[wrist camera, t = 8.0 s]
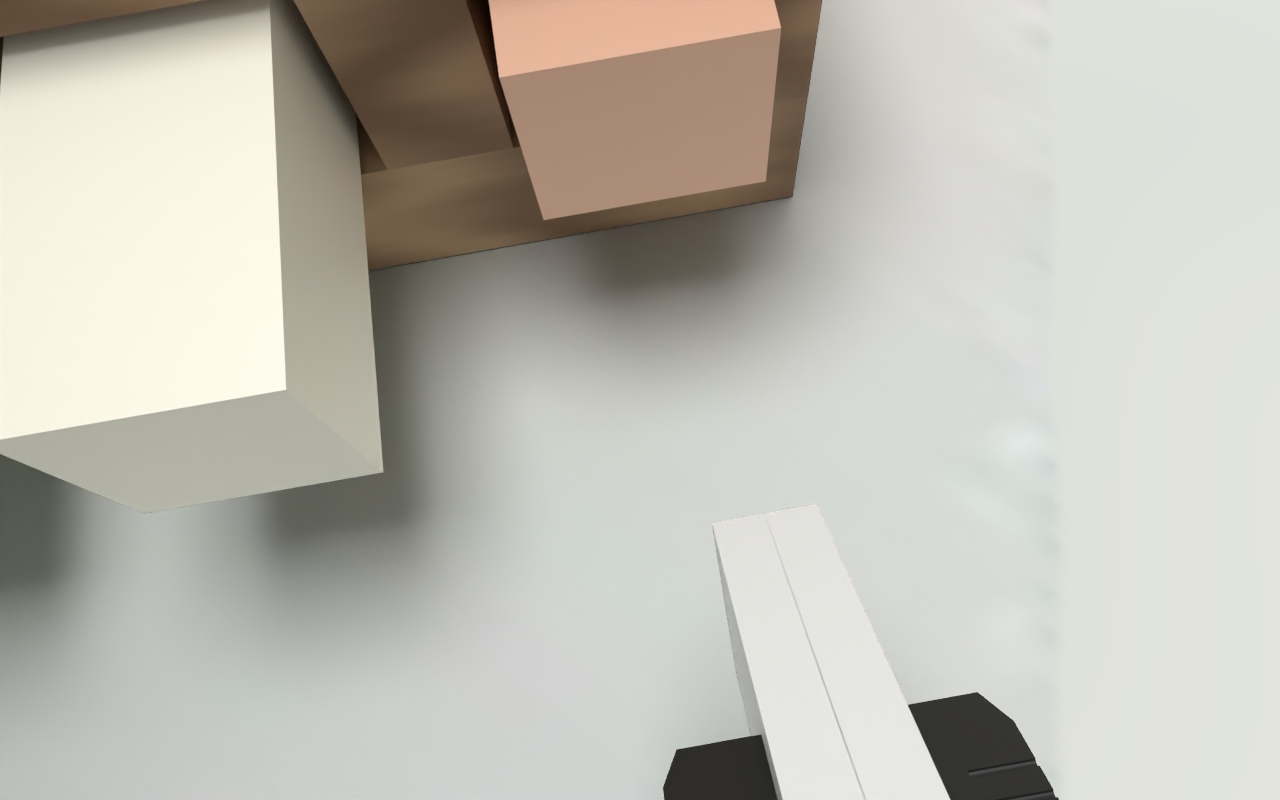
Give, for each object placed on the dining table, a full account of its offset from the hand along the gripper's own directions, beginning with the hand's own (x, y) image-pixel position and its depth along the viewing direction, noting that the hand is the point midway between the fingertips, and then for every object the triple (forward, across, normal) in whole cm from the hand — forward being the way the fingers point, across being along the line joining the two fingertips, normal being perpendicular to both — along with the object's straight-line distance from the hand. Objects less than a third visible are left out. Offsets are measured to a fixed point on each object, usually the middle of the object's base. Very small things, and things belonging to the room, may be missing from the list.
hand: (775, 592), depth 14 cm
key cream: (+10, -9, +3) cm, 14 cm away
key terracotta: (+13, 0, +7) cm, 15 cm away
